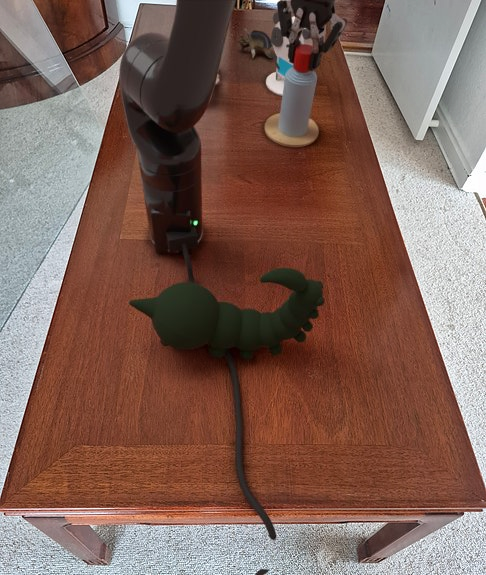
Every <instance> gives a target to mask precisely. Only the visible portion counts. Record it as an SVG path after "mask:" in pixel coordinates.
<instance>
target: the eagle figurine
mask: <svg viewBox="0 0 486 575" xmlns="http://www.w3.org/2000/svg"><path fill="white" fill-rule="evenodd" d="M244 31H245V33H246V35H247V37H248V38H246V39H245V36H243V34H241V33H240V34H239V38H236V41H237V44H239V45H240V49H241V50H240V51H241V52H243V51H244V50H245V49H247V48H249V51H250V52H251V55H252V56H251V57H252V58H251V59H254V58H255V57H256V49H257V50H260V51H261V52H262V53H264V55H265V56H267V58H269V59H274V57H275V54H274V53H273V51H272V50H271V48H272V47H273V44H272V42H271V36H269V35H268V34H267V33H266V32H264V31H262V30H256V29H254V30H252V31H251V32H248V29H247V28H244Z"/></svg>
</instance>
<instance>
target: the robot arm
mask: <svg viewBox="0 0 486 575" xmlns="http://www.w3.org/2000/svg"><path fill="white" fill-rule="evenodd" d="M236 2H237V0H176V2H175V11H174V16H173V21H172V25H171V30H170V33H169V36H167V35H166V34H163V33H161V32H156V31H155V32H145V33H142V34H140V35H138V36H136V37H135V38H133V39H132V40H131V41H130V42H129V44H128V45H127V46H126V48H125V50H124V52H123V53H122V56H121V59H120V64H119V71H118V72H119V74H118V77H119V89H120V95H121V99H122V100H121V101H122V104H123V105H122V106H123V110H124V115H125V119H126V123H127V129H128V133H129V135H130V136H129V137H130V139H131V140H132V143H133V145H134V147H135V149H136V152H137V158H138V165H139V170H140V172H139V173H140V179H141V184H142V192H143V199H144V204H145V205H144V206H145V212H146V218H147V225H148V234H149V240H150V242H151V244H152V245H153V246H154V249H155V253H156V254H167V255H168V254H169V255H183V258H184V262H185V266H186V271H187V279H188V282H192V283H196V281H195V276H194V272H193V266H192V261H191V256H190V255H192V254H193V251H194V249H196V248H199V245H200V244H201V243H202V240H203V238H204V227H203V190H202V189H203V188H202V186H203V182H202V172H203V171H202V141H201V137H200V135H199V132H198V130H197V129H196V127H195V126H196V125H197V124H198V122H200V120H201V119H202V118H203V116H204V115H205V113H206V111H207V109H208V107H209V105H210V102H211V101H212V96H213V94H214V90H215V87H216V85H215V83H216V79H217V75H218V74H219V70H220V65H221V61H222V57H223V53H224V48H225V45H226V41H227V40H226V39H227V37H228V31H229V28H230V23H231V20H232V15H233V13H234V9H235V5H236ZM335 2H336V0H278V1H277V3H276V8H277V12H278V15H279V22H280V29H281V35H282V36H283V37H285V36H286V37H287V38H288V39H289V42H290V43H289V51H288V59H289V62H290V63H293V61H294V55H295V50H296V47H297V46H298V45H300V43H301V41H300V40H299V38H300V37H301V34H302V32H303V30H304V28H307V29H308V30H309V31H311V39H312V43H313V51H312V52H311V58H310V63H309V69H308V70H309V71H314V72H315V70H317V69H318V68H319V67H320V65H321V62H322V57H323V54H326V53H328V52H329V51H330V50H332V49H333V48H334V47H335V45H336V44H337V42H338V40H339V38H340V37H341V35H342V33H343V31H344V30H345V28H346V26H347V25H348V19H347V18H346V17H343V18H341V17H340V16H338V15H337V14H336V8H335ZM292 12H293V16H295V20H294V22H293V23H292V17H293V16H292ZM329 22H330V28H329V29H330V32H329V34H328V36H327V38H326V34H327V24H328V23H329ZM229 349H230V348H228V349H226V353H225V354H224V357H225V359H226V362H227V365H228V369H229V371H230V376H231V381H232V390H233V403H234V415H235V447H234V448H235V452H234V456H235V457H234V458H235V470H236V475H237V480H238V483H239V486H240V489H241V492H242V494H243V495H244V496H245V499H246V500H247V501H248V503H249V505H250V506H251V508H252V509H253V510H254V511H255V513H256V514H257V515H258V516H259V518H260V519H261V521H262V524H264V527H265V529H266V531H267V534H268V537H269V539H270V540H272V541H275V540H276V539H277V532H276V529H275V526H274V524H273V522H272V520H271V518H270V516H269V515H268V514H267V512H266V511H265V509H264V508H263V506H262V505H261V504H260V503H259V501H258V500H257V499H256V497H255V495H254V494H253V493H252V491H251V489H250V487H249V484H248V483H247V482H248V481H247V480H246V476H245V472H244V464H243V427H244V426H243V414H242V413H243V412H242V401H241V388H240V381H239V376H238V372H237V367H236V364H235V361H234V358H233V356H232V353H231V351H230V350H229ZM269 571H270V569H269V568H260V569H258V571H256V573H255V574H254V575H267V574H268V573H269Z"/></svg>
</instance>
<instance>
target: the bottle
mask: <svg viewBox="0 0 486 575" xmlns="http://www.w3.org/2000/svg"><path fill="white" fill-rule="evenodd" d="M317 82H318V75H317V73H316V72H315V70H314V71H310V72H299V71H297V70H295V69H294V68H293V67H292V68H290V69H289V70H288V71H287V72H286V74H285V81H284V89H283V96H281V103H280V110H279V113H280V117H279V125H278V128H279V131H280V132H281V133H283V134H284V135H286V136H290V137H299V136H302V135H304V134H305V133H306V132H307V128H308V123H309V118H310V119H311V114H312V113H311V112H312V107H313V103H314V98H315V92H316V87H317Z"/></svg>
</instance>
